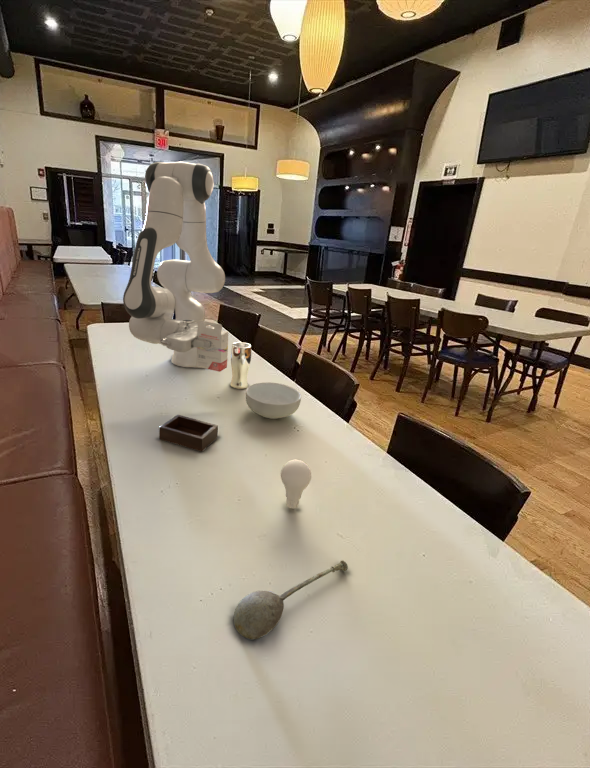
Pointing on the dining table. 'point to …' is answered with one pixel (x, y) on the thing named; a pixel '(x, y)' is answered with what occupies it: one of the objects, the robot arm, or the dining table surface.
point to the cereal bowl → (272, 399)
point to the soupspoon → (268, 607)
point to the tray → (188, 432)
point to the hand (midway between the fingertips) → (215, 342)
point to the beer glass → (240, 364)
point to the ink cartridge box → (212, 346)
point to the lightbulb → (295, 481)
